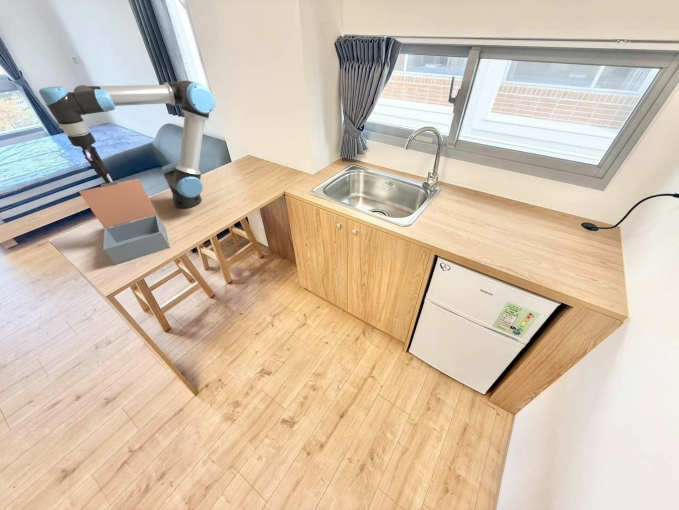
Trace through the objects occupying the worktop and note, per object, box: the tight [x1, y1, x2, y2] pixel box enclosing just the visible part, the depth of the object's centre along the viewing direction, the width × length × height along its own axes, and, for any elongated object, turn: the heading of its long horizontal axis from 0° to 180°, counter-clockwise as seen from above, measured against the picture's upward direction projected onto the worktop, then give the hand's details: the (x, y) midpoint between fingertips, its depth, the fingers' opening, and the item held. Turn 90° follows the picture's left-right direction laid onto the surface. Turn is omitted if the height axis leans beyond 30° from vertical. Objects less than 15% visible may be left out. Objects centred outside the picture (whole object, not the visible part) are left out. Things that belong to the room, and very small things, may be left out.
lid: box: [79, 178, 158, 229], centre depth 121 cm, size 19×22×1 cm
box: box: [103, 214, 171, 266], centre depth 124 cm, size 18×22×9 cm
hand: (112, 188), depth 119 cm, fingers closed
